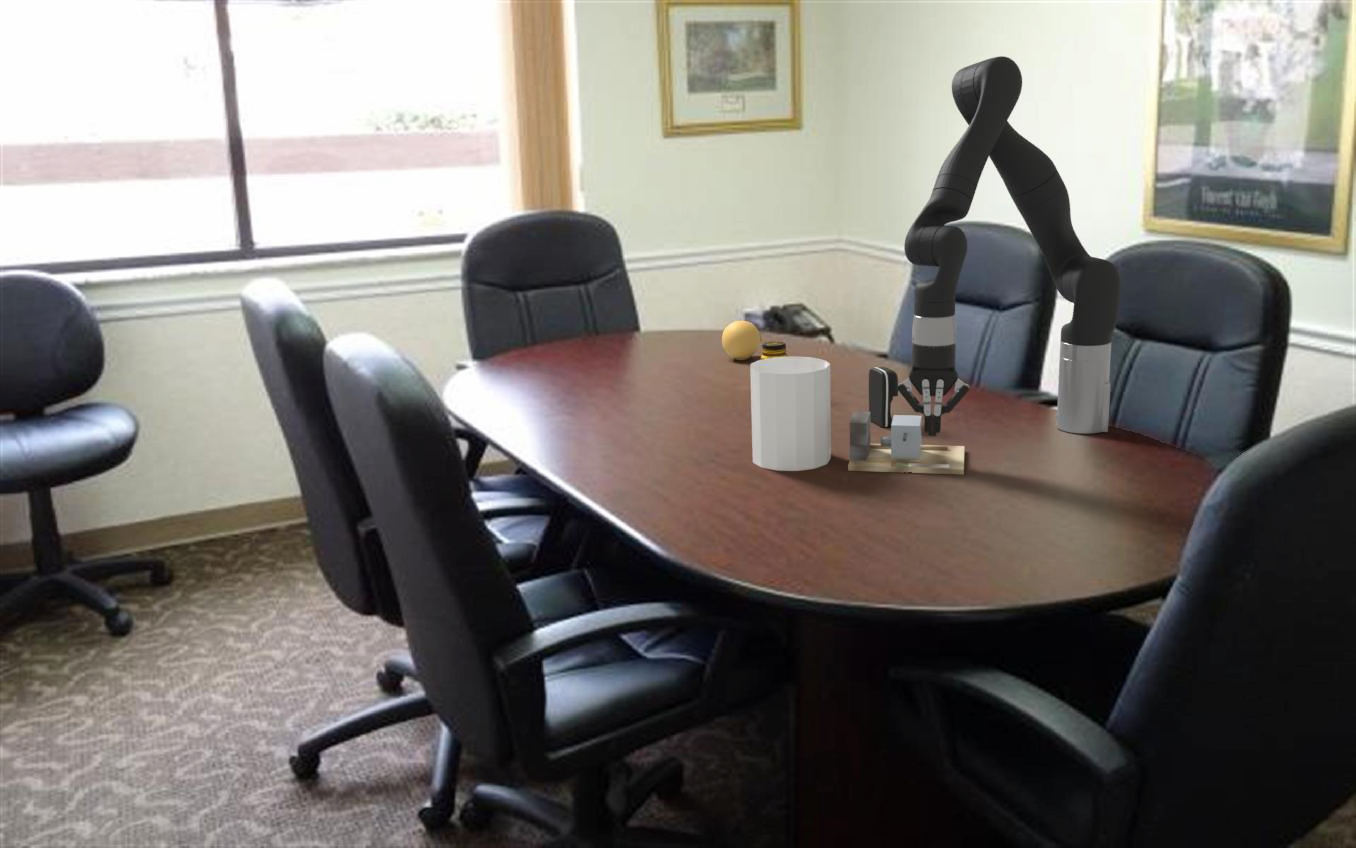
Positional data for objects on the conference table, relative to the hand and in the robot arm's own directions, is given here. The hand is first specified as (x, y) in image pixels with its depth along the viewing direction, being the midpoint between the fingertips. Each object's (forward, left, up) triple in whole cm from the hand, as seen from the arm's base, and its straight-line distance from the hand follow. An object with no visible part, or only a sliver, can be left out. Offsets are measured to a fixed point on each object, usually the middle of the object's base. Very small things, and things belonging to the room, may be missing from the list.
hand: (932, 434), depth 213 cm
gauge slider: (+5, +2, -4) cm, 7 cm away
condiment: (+36, -47, -5) cm, 60 cm away
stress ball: (+50, -83, -5) cm, 97 cm away
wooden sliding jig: (+4, 0, -5) cm, 7 cm away
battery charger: (+10, -25, -5) cm, 28 cm away
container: (+25, +1, -6) cm, 26 cm away
